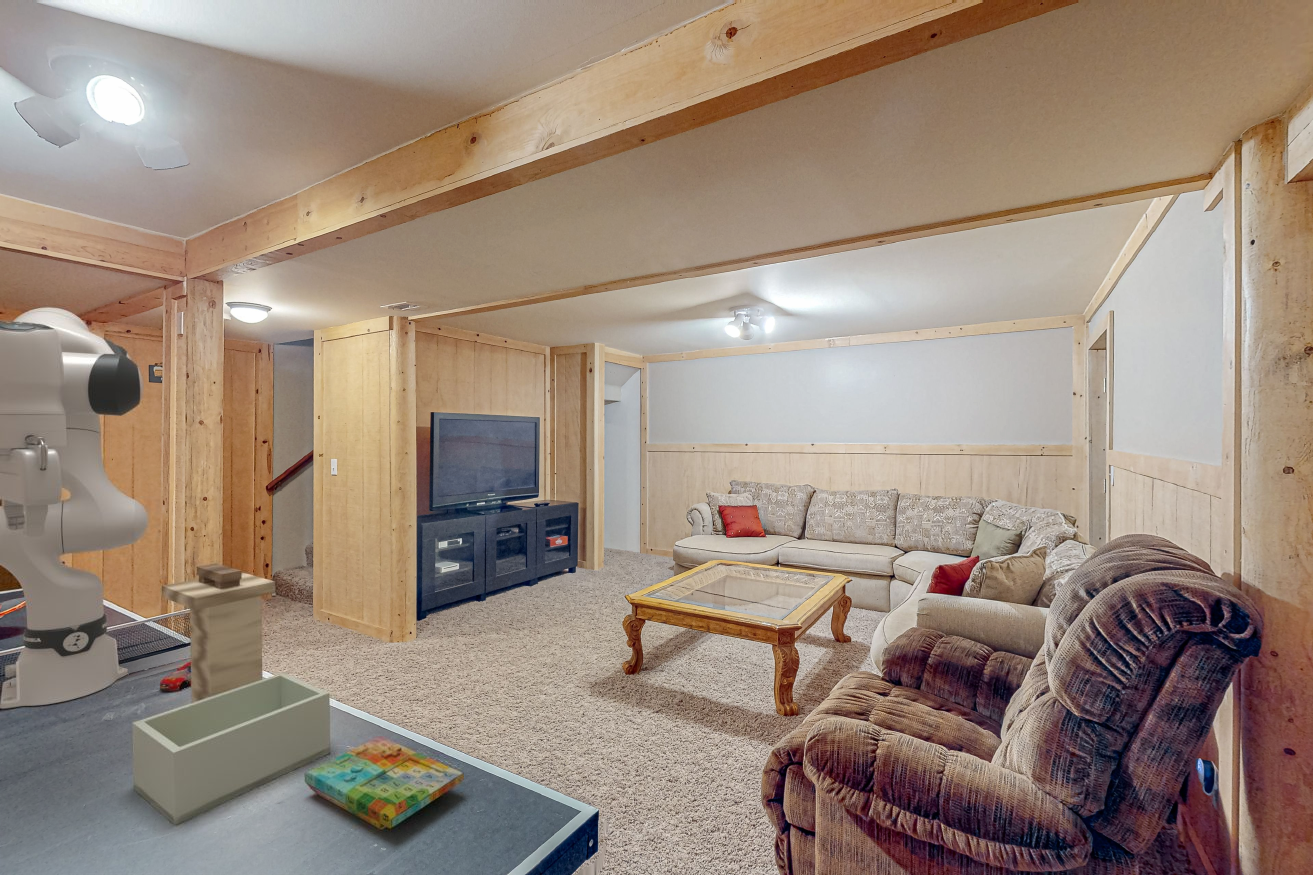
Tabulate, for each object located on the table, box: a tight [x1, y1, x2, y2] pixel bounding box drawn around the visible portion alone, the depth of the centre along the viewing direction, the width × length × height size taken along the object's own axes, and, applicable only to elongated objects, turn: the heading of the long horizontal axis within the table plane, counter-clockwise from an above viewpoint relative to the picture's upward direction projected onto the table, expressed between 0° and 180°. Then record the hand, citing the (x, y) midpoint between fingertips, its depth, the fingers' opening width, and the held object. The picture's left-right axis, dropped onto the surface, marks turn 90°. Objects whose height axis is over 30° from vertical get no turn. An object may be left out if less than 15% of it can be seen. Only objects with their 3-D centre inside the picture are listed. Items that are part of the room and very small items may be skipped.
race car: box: [159, 660, 191, 692], centre depth 126 cm, size 13×5×4 cm, turn 166°
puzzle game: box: [304, 735, 465, 831], centre depth 86 cm, size 12×5×20 cm
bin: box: [132, 672, 331, 826], centre depth 93 cm, size 15×21×10 cm
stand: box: [161, 563, 276, 703], centre depth 105 cm, size 14×12×29 cm
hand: (25, 532), depth 84 cm, fingers open, 8 cm apart
